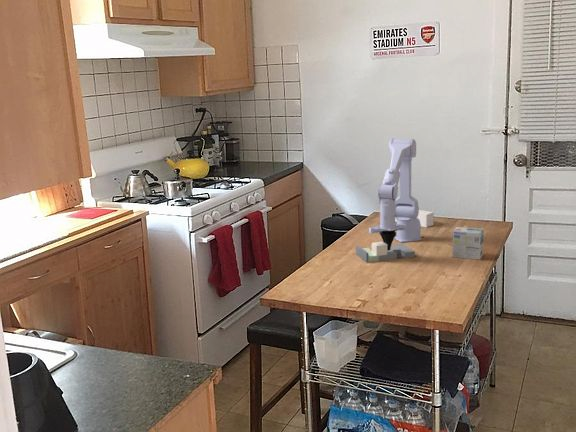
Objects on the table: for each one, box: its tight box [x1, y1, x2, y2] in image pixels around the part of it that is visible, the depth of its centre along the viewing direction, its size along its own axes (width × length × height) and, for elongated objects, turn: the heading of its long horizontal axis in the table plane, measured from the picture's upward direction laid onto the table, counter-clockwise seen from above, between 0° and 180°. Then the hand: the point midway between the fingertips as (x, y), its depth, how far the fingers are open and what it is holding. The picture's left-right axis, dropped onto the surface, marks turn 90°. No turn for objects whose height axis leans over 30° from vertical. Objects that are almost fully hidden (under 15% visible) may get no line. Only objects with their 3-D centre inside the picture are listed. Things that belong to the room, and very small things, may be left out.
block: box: [371, 241, 387, 256], centre depth 254 cm, size 4×4×4 cm
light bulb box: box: [451, 226, 485, 261], centre depth 254 cm, size 11×7×11 cm, turn 65°
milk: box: [395, 209, 435, 228], centre depth 306 cm, size 6×6×22 cm
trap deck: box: [355, 243, 416, 263], centre depth 259 cm, size 20×11×4 cm, turn 105°
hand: (387, 249), depth 256 cm, fingers closed
